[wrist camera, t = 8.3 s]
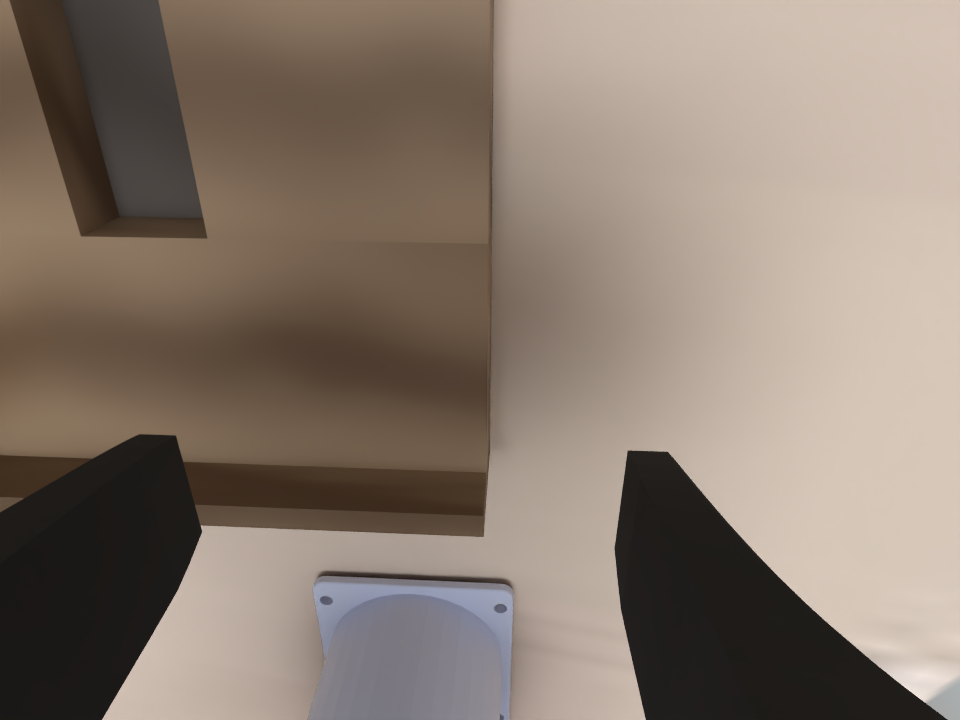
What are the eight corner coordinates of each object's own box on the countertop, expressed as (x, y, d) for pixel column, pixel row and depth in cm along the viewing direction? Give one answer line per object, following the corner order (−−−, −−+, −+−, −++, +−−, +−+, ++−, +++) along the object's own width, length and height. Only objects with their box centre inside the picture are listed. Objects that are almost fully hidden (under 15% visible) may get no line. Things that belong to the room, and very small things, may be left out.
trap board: (489, 463, 23) (482, 561, 19) (-125, 441, 24) (-259, 530, 20) (494, -68, 15) (483, -96, 11) (-399, -62, 17) (-702, -86, 12)
